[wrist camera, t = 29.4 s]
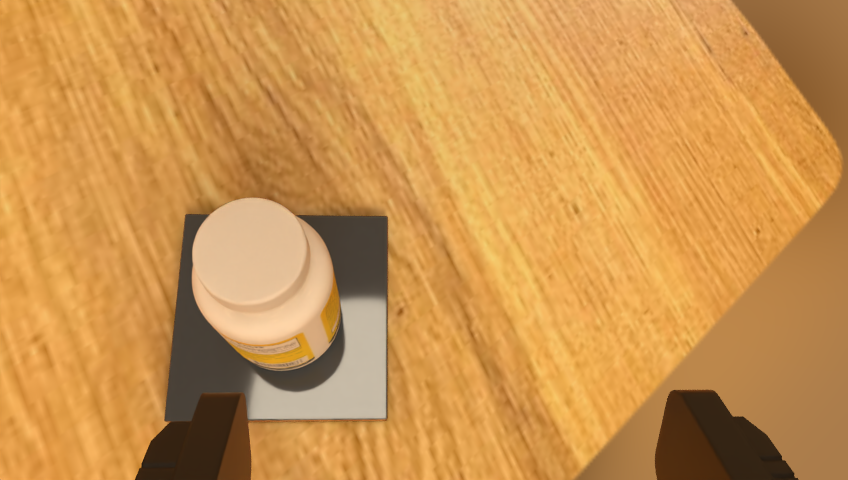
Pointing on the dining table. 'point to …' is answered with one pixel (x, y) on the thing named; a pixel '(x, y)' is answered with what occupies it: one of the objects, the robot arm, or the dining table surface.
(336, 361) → the coaster
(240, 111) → the dining table surface
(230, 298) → the supplement bottle
